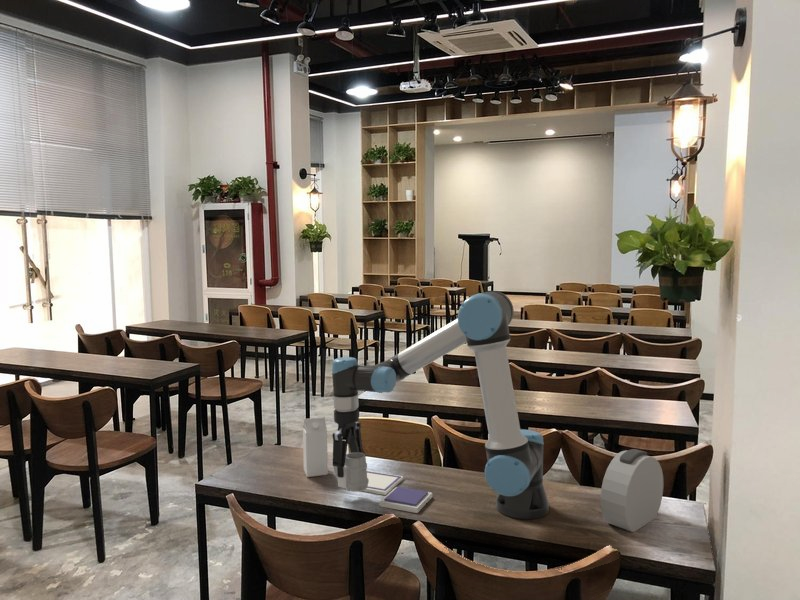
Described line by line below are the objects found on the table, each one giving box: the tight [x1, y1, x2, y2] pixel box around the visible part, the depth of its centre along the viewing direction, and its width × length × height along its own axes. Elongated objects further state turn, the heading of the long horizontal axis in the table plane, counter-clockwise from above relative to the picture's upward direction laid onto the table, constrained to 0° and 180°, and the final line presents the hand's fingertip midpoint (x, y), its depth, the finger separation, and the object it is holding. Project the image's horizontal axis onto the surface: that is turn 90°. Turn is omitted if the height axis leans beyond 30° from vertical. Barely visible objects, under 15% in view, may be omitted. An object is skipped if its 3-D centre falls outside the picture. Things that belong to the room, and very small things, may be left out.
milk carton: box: [302, 416, 329, 478], centre depth 208 cm, size 7×7×19 cm
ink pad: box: [379, 486, 433, 514], centre depth 184 cm, size 12×12×2 cm
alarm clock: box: [600, 448, 664, 533], centre depth 170 cm, size 21×8×20 cm, turn 131°
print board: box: [340, 470, 404, 496], centre depth 199 cm, size 16×14×1 cm
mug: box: [333, 452, 369, 492], centre depth 187 cm, size 8×12×12 cm, turn 61°
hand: (349, 482), depth 187 cm, fingers closed on mug, 7 cm apart
